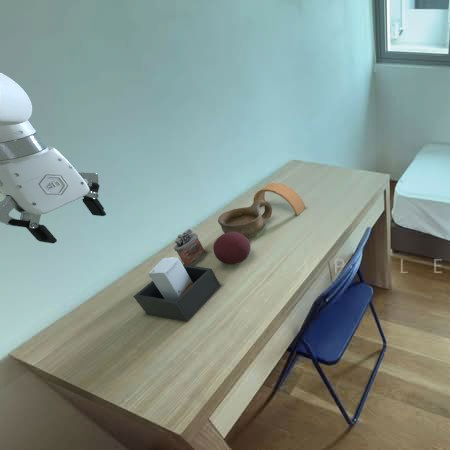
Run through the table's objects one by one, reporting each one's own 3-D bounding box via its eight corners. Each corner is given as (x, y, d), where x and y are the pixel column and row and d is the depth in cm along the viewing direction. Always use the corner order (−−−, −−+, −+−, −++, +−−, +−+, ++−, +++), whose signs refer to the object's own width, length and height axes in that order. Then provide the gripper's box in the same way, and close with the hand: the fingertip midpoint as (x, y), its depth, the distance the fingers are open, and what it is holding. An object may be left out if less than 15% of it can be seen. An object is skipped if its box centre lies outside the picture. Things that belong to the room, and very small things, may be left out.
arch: (297, 216, 117) (290, 193, 111) (254, 208, 123) (246, 186, 117) (305, 208, 121) (300, 185, 116) (264, 201, 127) (257, 179, 122)
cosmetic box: (185, 306, 81) (163, 273, 74) (169, 306, 81) (146, 273, 74) (198, 289, 86) (178, 256, 79) (183, 289, 86) (162, 257, 79)
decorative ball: (261, 253, 99) (251, 227, 94) (240, 274, 92) (228, 248, 86) (236, 248, 102) (225, 223, 96) (213, 268, 94) (199, 242, 88)
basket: (187, 322, 78) (174, 303, 74) (146, 314, 80) (132, 296, 76) (221, 286, 88) (211, 268, 84) (184, 280, 90) (173, 263, 86)
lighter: (191, 268, 94) (177, 243, 89) (181, 267, 95) (166, 242, 89) (208, 251, 101) (196, 227, 95) (199, 251, 101) (186, 226, 96)
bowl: (250, 210, 119) (248, 188, 113) (281, 224, 117) (280, 203, 111) (212, 235, 106) (207, 213, 99) (246, 252, 104) (243, 230, 97)
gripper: (-38, 169, 46) (42, 256, 56) (82, 132, 60) (129, 207, 70) (-71, 167, 48) (12, 252, 57) (53, 131, 62) (103, 204, 71)
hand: (76, 227), depth 64 cm, fingers open, 9 cm apart
